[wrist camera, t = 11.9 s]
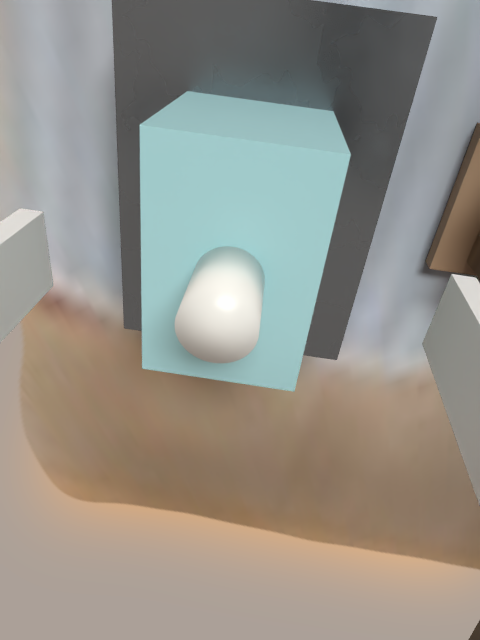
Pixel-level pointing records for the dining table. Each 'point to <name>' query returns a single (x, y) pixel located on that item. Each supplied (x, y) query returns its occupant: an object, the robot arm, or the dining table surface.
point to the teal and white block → (235, 234)
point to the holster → (461, 219)
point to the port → (282, 88)
